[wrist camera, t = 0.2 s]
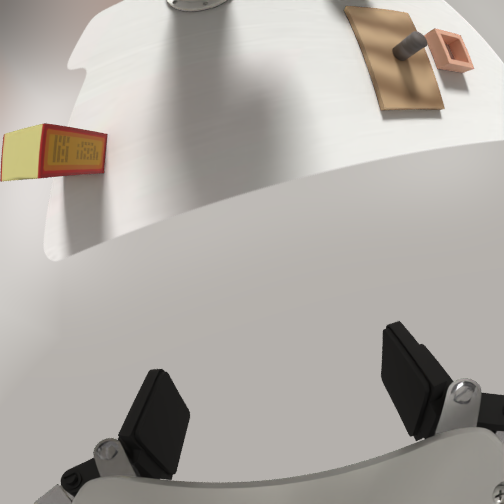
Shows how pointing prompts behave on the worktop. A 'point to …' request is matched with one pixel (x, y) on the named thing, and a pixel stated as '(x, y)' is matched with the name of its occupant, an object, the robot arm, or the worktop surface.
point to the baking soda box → (51, 152)
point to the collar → (441, 54)
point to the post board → (395, 59)
